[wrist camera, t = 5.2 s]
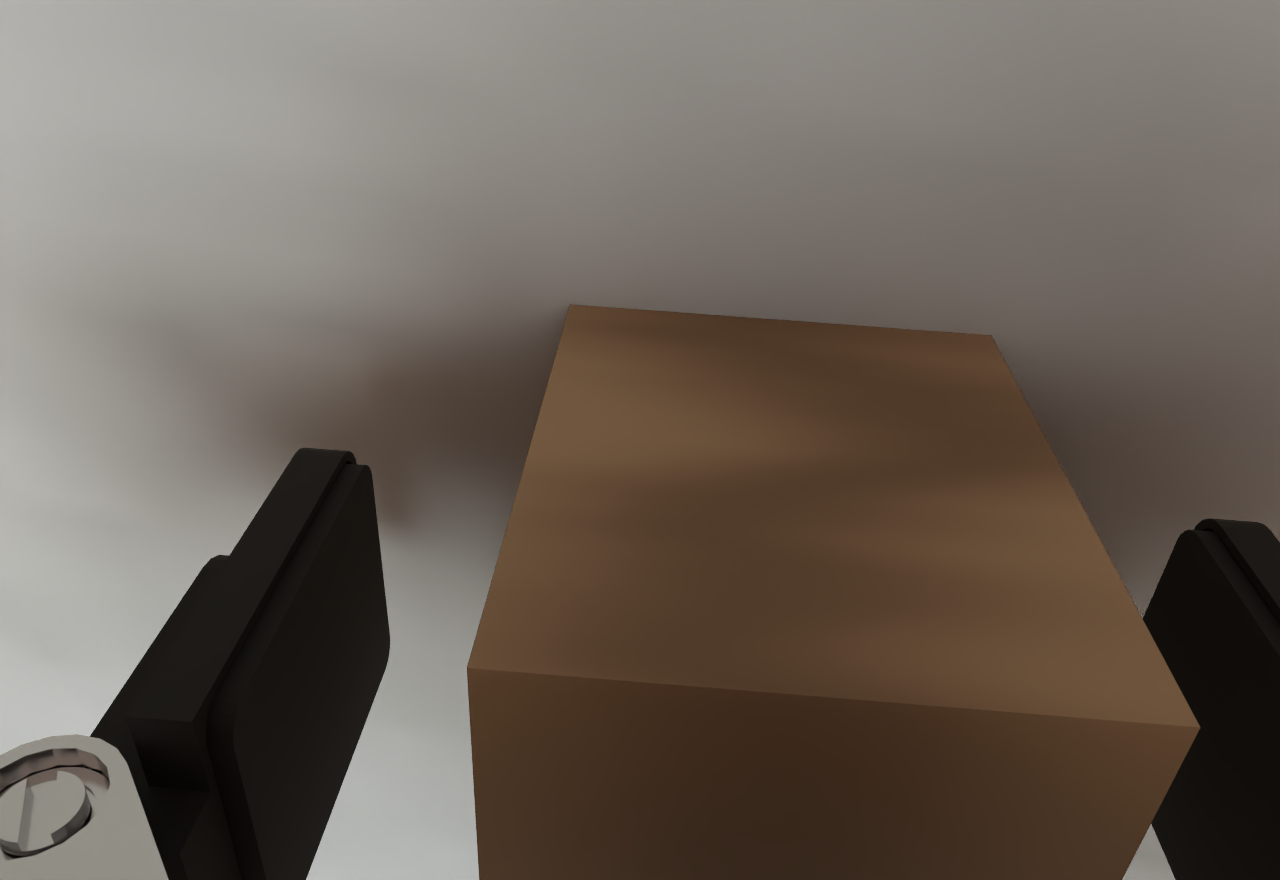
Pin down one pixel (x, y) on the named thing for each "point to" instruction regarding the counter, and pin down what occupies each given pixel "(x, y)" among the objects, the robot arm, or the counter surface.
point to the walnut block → (806, 621)
